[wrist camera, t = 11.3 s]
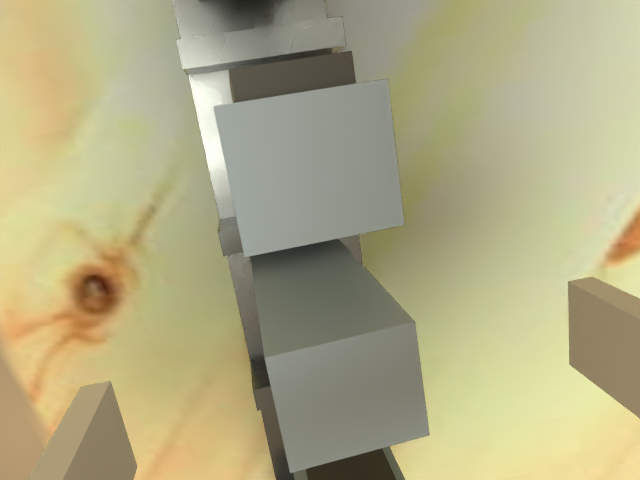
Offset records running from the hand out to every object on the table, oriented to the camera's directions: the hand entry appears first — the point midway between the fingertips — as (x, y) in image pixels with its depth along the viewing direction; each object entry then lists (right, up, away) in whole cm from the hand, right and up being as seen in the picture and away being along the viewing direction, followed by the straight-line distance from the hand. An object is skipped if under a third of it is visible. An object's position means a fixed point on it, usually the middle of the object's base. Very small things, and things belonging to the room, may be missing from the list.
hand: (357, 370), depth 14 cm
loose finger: (-2, +2, +9) cm, 9 cm away
